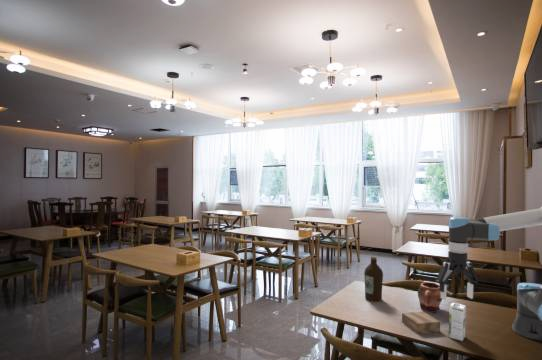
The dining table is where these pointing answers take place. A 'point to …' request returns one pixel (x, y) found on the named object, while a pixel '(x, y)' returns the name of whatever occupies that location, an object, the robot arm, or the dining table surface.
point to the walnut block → (421, 322)
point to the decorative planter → (429, 296)
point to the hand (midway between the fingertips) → (456, 298)
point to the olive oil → (373, 281)
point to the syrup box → (457, 321)
